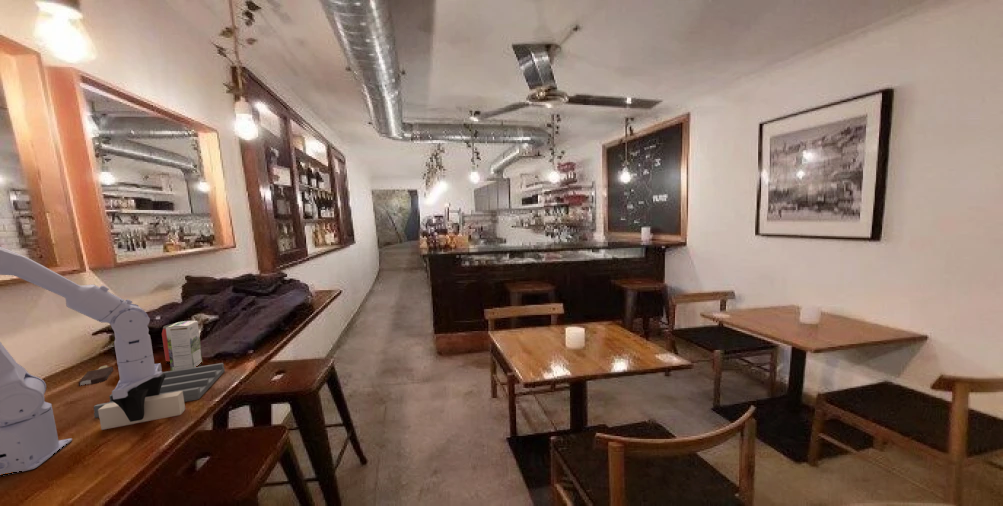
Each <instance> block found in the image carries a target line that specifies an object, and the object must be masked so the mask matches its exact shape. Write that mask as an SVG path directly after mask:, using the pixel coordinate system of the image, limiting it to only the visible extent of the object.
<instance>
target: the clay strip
mask: <svg viewBox="0 0 1003 506" xmlns="http://www.w3.org/2000/svg"><path fill="white" fill-rule="evenodd" d="M108 403H109V402H108ZM185 410H186V405H185V402H184V397H183V391H178V392H173V393H167V394H161V395H155V396H150V397H145V402H144V418H143V419H142V420H138V421H133V422H130V421H129V419H128V418H127V416H126V414H125V413H124V411H123V410H122V409H121V407H119V406H118V405H117V404H116V403H109V404H105V405H104V406H102V407H101V408H100V409H98V413H99V417H98V418H99V424H100V429H101V430H102V431H103V430H107V429H113V428H119V427H124V426H129V425H134V424H139V423H145V422H149V421H151V422H152V421H155V420H161V419H165V418H170V417H176V416H180V415H182V414H183V413H184V412H185Z"/></svg>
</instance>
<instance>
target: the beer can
mask: <svg viewBox="0 0 1003 506" xmlns="http://www.w3.org/2000/svg"><path fill="white" fill-rule="evenodd" d="M175 323H176V322H175ZM175 323H171V324H167V325H164V326H163V327H162V332H161V337H162V344H163V350H164V351H163V353H164V358H165V362H166V361H170V359H169V351H168V342H167V334H166V328H167V327H169V326H171V325H173V324H175Z"/></svg>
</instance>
